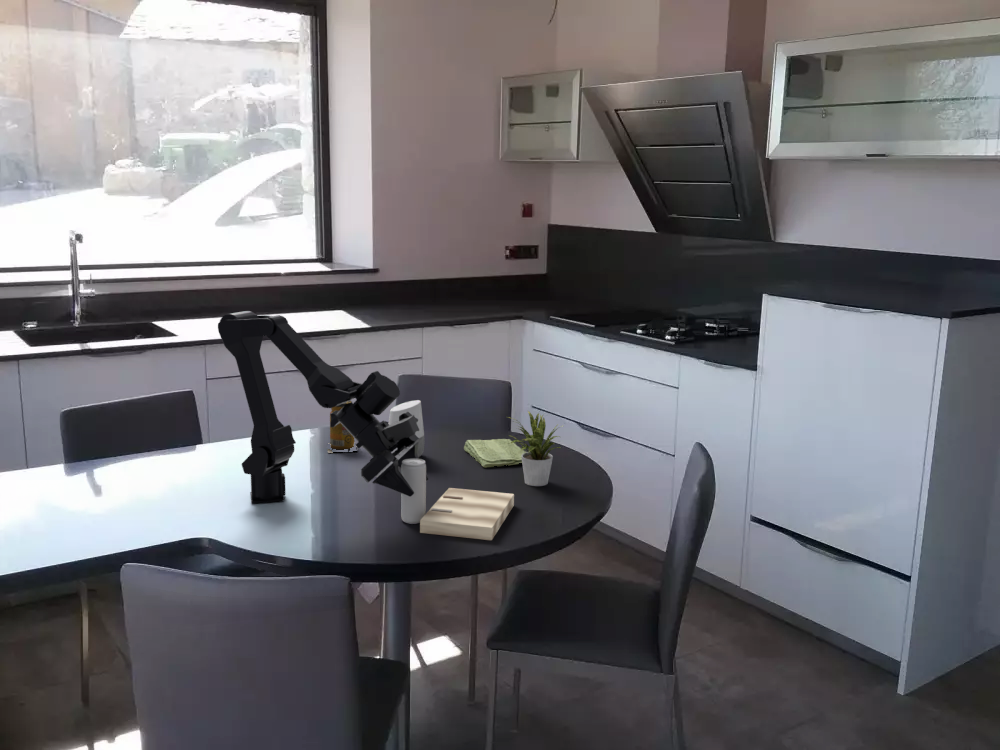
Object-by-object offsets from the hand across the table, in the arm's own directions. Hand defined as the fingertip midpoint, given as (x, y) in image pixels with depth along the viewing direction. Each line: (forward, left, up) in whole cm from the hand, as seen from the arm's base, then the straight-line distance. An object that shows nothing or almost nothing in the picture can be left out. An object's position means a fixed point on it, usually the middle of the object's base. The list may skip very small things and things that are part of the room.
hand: (419, 487), depth 175 cm
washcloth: (+28, +39, -8) cm, 48 cm away
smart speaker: (+6, +44, -7) cm, 45 cm away
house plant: (+30, +19, -7) cm, 36 cm away
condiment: (-8, +55, -7) cm, 56 cm away
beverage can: (-1, +1, -7) cm, 7 cm away
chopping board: (+10, -1, -7) cm, 12 cm away
